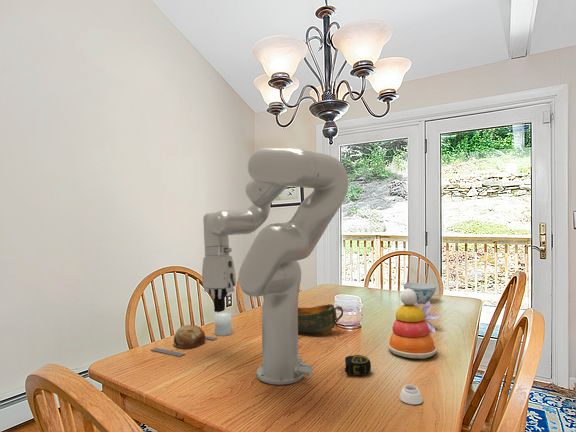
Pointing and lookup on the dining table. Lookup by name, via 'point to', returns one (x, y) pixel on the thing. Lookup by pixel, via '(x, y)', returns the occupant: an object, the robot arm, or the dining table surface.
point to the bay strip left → (168, 352)
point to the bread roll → (189, 337)
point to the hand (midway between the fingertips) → (219, 310)
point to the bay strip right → (210, 338)
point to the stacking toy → (411, 330)
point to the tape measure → (357, 365)
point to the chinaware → (421, 290)
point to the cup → (223, 323)
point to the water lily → (428, 315)
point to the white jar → (411, 395)
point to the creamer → (317, 320)
